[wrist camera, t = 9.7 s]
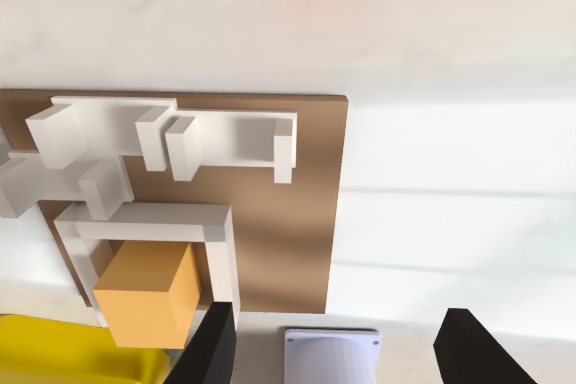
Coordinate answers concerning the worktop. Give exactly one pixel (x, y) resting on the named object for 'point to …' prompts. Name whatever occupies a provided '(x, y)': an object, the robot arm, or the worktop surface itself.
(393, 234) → the worktop surface
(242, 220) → the board
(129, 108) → the clip
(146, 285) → the block
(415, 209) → the worktop surface
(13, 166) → the clip
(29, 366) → the element tile
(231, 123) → the clip
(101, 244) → the frame
